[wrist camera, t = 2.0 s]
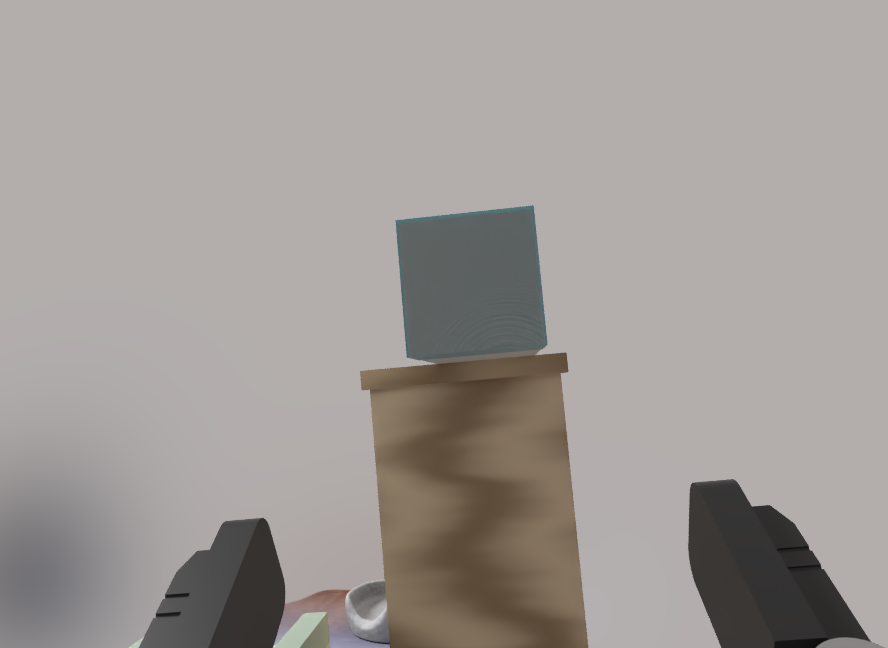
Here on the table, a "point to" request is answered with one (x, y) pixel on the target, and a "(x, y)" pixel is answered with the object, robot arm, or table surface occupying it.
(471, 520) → the oak stand
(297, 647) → the sage green upright box
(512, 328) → the white teal square bar
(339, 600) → the table surface
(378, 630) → the dish
